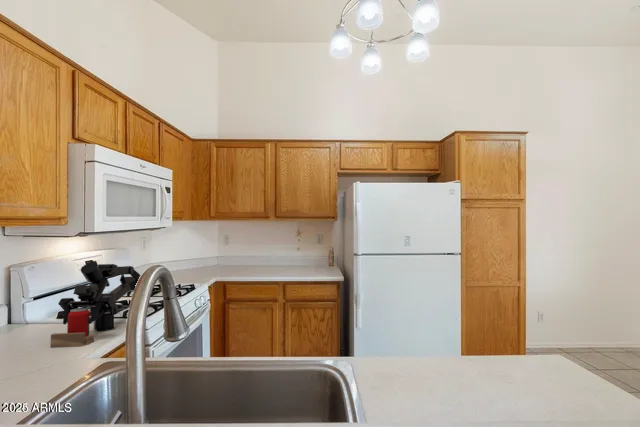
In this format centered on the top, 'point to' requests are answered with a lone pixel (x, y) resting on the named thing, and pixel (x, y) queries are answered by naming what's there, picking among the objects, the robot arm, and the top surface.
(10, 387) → the top surface
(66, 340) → the can cradle
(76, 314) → the beverage can
